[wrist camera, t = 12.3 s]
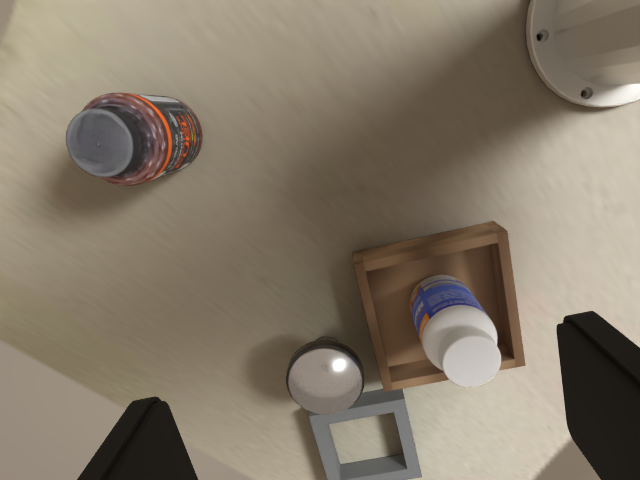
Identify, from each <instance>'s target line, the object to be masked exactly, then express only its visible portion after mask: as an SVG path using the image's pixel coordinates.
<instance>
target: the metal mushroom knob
mask: <svg viewBox="0 0 640 480" xmlns="http://www.w3.org/2000/svg"><path fill="white" fill-rule="evenodd" d="M286 383H287V388H288V391H289V393H290V395H291V397H292V398H293V399H294V401H295V402H296V403H297V404H299V405H300V406H301V407H303V408H304V409H306V410H308V411H310V412H313V413H317V414H324V415H325V414H335V413H339V412H342V411H344V410H346V409H348V408H349V407H351V406H352V405H353V404H354V403H355V402H356V401H357V400H358V399H359V397H360V396H361V393H362V391H363V388H364V372H363V366H362V363H361V361H360V359H359V358H358V356H357V355H356V354H355V352H354V351H352V350H351V349H350V348H349V347H347V346H346V345H343V344H341V343H339V342H337V341H336V340H335V339H334V338H332V337H329V336H324V337H321V338H319V339H318V340H317V341H315V342H311V343H308V344H306V345H304V346H303V347H301V348H300V349H299V350H298V351H297V352H296V353H295V354H294V355H293V356H292V358H291V360H290V363H289V366H288V370H287V377H286Z"/></svg>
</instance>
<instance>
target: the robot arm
mask: <svg viewBox="0 0 640 480" xmlns="http://www.w3.org/2000/svg"><path fill="white" fill-rule="evenodd" d="M537 34H539V35H540V40H539V41H537V38H536V36H537ZM526 38H527V47H528V51H529V55H530V59H531V62H532V64H533V66H534V68H535V70H536V72H537V74H538V75H539V77H540V78H541V79H542V80H543V82H544V83H545V84H546V86H547V87H548V88H550V89H551V90H552V91H553V92H555V93H556V94H557V95H558V96H560V97H562V98H564V99H566V100H568V101H570V102H572V103H575V104H579V105H583V106H587V107H617V106H621V105H625V104H630V103H634V102H636V101H638V100H640V0H531V1H530V4H529V8H528V13H527V22H526ZM581 91H583V92H584V93H583V96H582V97H581ZM557 339H558V348H559V357H560V366H561V375H562V384H563V393H564V402H565V411H566V420H567V426H568V429H569V432H570V434H571V437H572V439H573V440H574V442H575V443H576V445H577V446H578V447H579V449H580V450H581V451H582V453H583V455H584V456H585V457H586V459H587V460H588V462H589V463H590V464H591V466H592V467H593V469H594V470H595V472H596V473H597V474H598V476H599V477H600V479H601V480H640V348H639V347H638V346H637V345H635V344H634V343H633V342H632V341H630V340H629V339H628V338H627V337H625V336H624V335H623V334H622V333H620V332H619V331H618V330H617V329H615V328H614V327H613V326H612V325H611V324H609V323H608V322H607V321H606V320H604V319H603V318H602V317H601V316H599V315H598V314H597V313H595V312H594V311H589V312H583V313H578V314H573V315H568V316H565V317H564V320H563V323H562V324H558V325H557ZM77 480H198V478H197V476H196V473H195V471H194V468H193V466H192V463H191V461H190V458H189V456H188V453H187V450H186V448H185V445H184V443H183V440H182V438H181V435H180V433H179V430H178V428H177V425H176V423H175V420H174V418H173V415H172V413H171V410H170V408H169V405H168V403H167V402H165V401H161V400H160V399H159V398H158V397H150V398H145V399H140V400H135V401H132V402H131V403H130V405H129V406H128V407H127V409H126V410H125V412H124V413H123V415H122V416H121V418H120V419H119V421H118V422H117V423H116V425H115V426H114V428H113V429H112V431H111V432H110V433H109V435H108V436H107V438H106V439H105V441H104V442H103V443H102V445H101V446H100V448H99V449H98V450H97V452H96V453H95V455H94V456H93V458H92V459H91V461H90V462H89V463H88V465H87V466H86V468H85V469H84V471H83V472H82V474H81V475H80V476H79V478H78V479H77Z"/></svg>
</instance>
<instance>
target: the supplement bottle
mask: <svg viewBox="0 0 640 480" xmlns="http://www.w3.org/2000/svg"><path fill="white" fill-rule="evenodd" d="M201 144H202V131H201V127H200V123H199V121H198V119H197V117H196V116H195V114H194V113H193V111H192V110H191V109H190V108H189V107H188V106H187V105H185V104H184V103H182V102H180V101H179V100H177V99H173V98H170V97H165V96H153V95H141V94H130V93H110V94H105V95H102V96H99V97H97V98H95V99H94V100H92V101H91V102H89V103H88V104H87V105H86V106H85V107H84V109H83V110H82V111H81V112H80V113H79V114H77V115H76V116H75V117H74V118H73V119H72V120H71V122H70V124H69V126H68V129H67V132H66V145H67V148H68V151H69V154H70V156H71V158H72V159H73V160H74V162H75V163H76V164H77V165H78V166H79V167H80V168H81V169H82V170H84V171H85V172H87V173H89V174H91V175H93V176H97V177H100V178H101V179H103V180H105V181H107V182H110V183H113V184H116V185H122V186H132V185H138V184H142V183H145V182H148V181H150V180H153V179H156V178H159V177H162V176H164V175H167V174H170V173H173V172H175V171H178V170H181V169H182V168H184V167H186V166H188V165H189V164H190V163H191V162H192V161H193V160H194V159H195V158H196V156H197V155H198V153H199V151H200V148H201Z"/></svg>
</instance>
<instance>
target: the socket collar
mask: <svg viewBox="0 0 640 480" xmlns="http://www.w3.org/2000/svg"><path fill="white" fill-rule="evenodd" d="M392 412H394V414H395V418H396V423H397V427H398V431H399V435H400V440H401V444H402V448H403V452H404V454H400V455H394V456H389V457H383V458H377V459H371V460H365V461H359V462H354V463H348V464H342V465H340V462H339V459H338V455H337V452H336V448H335V444H334V441H333V437H332V434H331V430H330V427H329V424H332V423H337V422H343V421H348V420H354V419H359V418H365V417H370V416H376V415H381V414H387V413H392ZM309 419H310V422H311V426H312V429H313V432H314V436H315V439H316V442H317V446H318V449H319V453H320V456H321V459H322V463H323V466H324V469H325V473H326V476H327V479H328V480H407V479H413V478H419V477H422V474H421V470H420V466H419V461H418V457H417V452H416V448H415V443H414V439H413V434H412V430H411V426H410V421H409V417H408V412H407V408H406V403H405V399H404V395H403V390H402V389H397V390H392V391H386V392H384V389H381V390H376V391H371V392H365V393H361V396H360V397H359V399H358V400H357V401H356V402H355V403H354V404H353V405H352V406H351V407H349V408H348V409H346V410H344V411H342V412H339V413H335V414H325V415H324V414H317V413H313V412H310V411H309Z"/></svg>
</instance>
